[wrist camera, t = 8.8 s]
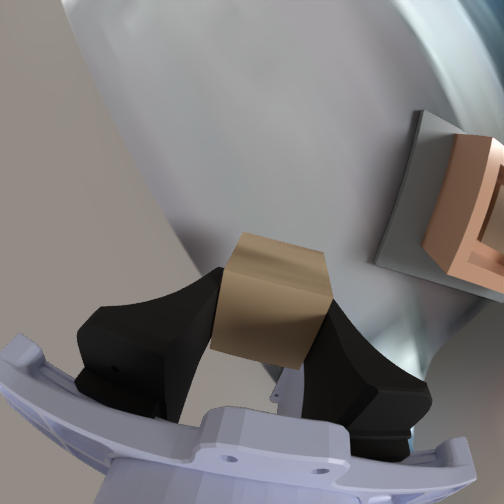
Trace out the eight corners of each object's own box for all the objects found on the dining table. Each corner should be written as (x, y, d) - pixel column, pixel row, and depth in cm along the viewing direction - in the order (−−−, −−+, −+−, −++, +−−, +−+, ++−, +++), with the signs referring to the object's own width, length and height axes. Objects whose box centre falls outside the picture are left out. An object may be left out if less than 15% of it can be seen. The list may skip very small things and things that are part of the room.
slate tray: (500, 300, 19) (502, 303, 18) (373, 261, 19) (375, 265, 19) (542, 194, 14) (545, 195, 13) (420, 110, 14) (424, 109, 14)
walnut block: (483, 237, 16) (510, 258, 12) (452, 221, 16) (480, 242, 12) (499, 193, 14) (530, 207, 11) (468, 172, 14) (501, 184, 11)
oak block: (299, 316, 15) (299, 370, 11) (228, 299, 15) (209, 348, 11) (323, 252, 13) (333, 297, 9) (243, 231, 13) (223, 269, 10)
